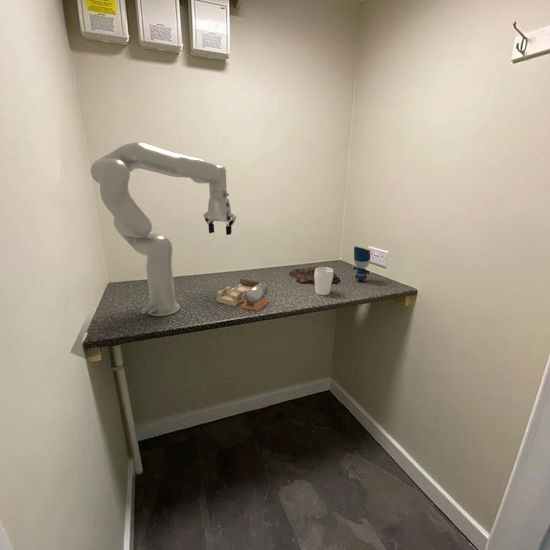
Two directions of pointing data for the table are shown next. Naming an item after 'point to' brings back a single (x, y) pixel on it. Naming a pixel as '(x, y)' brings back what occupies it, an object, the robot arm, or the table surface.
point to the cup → (323, 280)
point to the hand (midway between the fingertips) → (220, 233)
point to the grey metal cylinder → (255, 293)
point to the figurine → (361, 262)
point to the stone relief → (308, 276)
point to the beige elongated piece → (235, 292)
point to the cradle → (256, 304)
